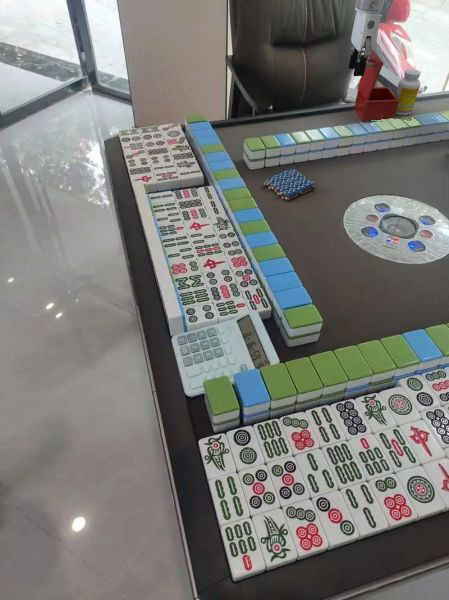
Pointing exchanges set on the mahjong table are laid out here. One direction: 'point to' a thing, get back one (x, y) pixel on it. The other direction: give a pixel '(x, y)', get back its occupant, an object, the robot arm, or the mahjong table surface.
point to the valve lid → (370, 74)
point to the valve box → (376, 104)
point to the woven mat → (289, 184)
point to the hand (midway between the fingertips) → (355, 71)
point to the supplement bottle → (407, 91)
